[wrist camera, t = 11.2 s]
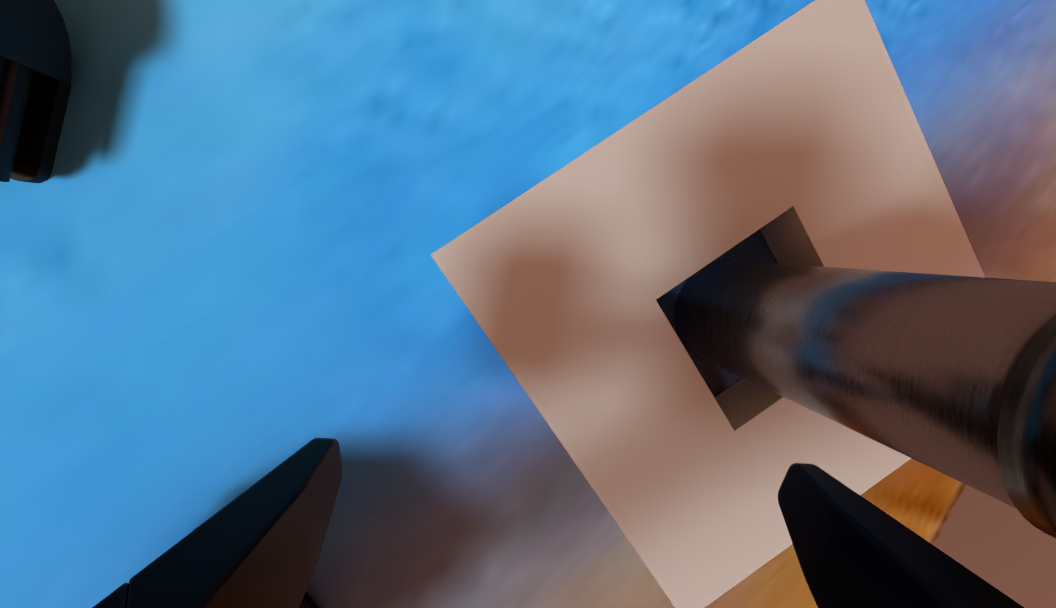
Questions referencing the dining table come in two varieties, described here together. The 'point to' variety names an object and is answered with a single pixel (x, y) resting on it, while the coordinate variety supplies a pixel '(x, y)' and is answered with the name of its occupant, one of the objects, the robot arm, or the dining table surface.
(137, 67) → the dining table surface
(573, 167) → the mount plate
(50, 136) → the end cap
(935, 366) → the tube
